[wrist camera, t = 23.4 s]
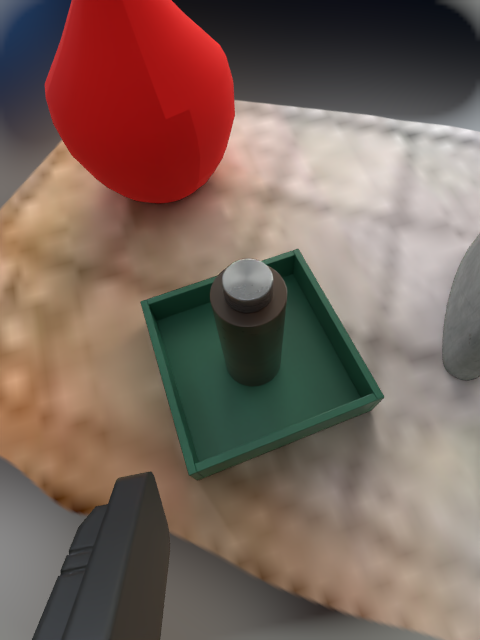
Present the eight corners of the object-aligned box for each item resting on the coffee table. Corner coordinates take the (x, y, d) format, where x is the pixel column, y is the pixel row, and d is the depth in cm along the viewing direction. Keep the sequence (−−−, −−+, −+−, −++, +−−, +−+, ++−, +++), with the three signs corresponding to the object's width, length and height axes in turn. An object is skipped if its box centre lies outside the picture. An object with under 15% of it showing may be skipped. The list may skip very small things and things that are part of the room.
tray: (295, 271, 37) (298, 248, 34) (372, 409, 30) (385, 397, 27) (151, 320, 36) (140, 301, 32) (197, 480, 28) (188, 475, 25)
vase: (205, 248, 39) (89, -287, 13) (62, 211, 43) (-242, -258, 17) (260, 141, 47) (255, -325, 21) (135, 118, 51) (2, -300, 25)
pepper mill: (267, 328, 34) (269, 236, 23) (289, 375, 32) (302, 297, 21) (218, 346, 33) (196, 260, 22) (236, 395, 31) (221, 326, 20)
